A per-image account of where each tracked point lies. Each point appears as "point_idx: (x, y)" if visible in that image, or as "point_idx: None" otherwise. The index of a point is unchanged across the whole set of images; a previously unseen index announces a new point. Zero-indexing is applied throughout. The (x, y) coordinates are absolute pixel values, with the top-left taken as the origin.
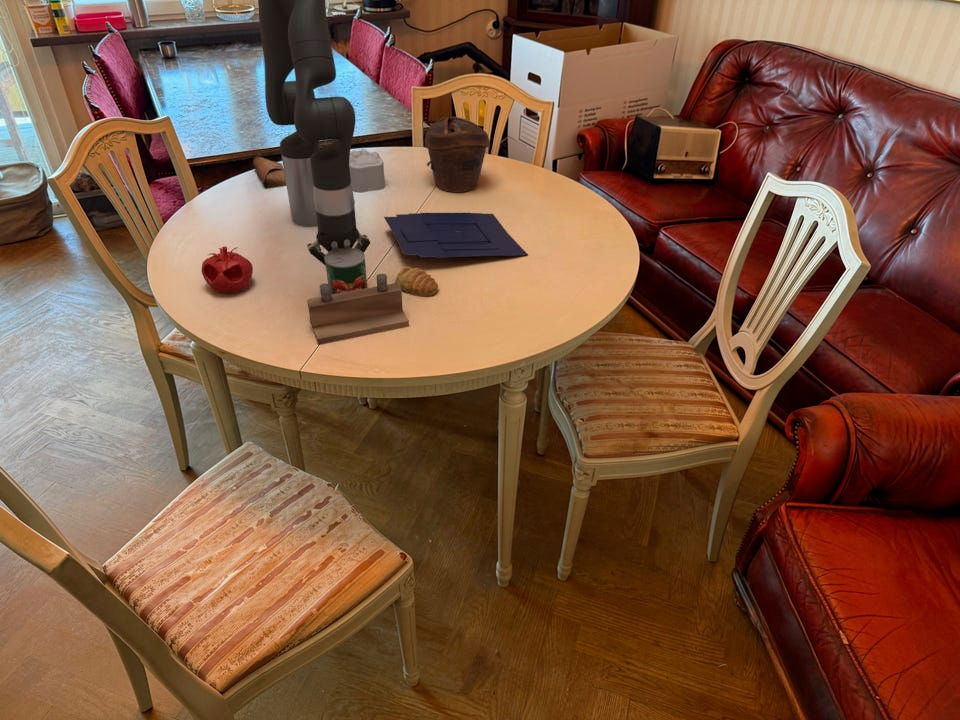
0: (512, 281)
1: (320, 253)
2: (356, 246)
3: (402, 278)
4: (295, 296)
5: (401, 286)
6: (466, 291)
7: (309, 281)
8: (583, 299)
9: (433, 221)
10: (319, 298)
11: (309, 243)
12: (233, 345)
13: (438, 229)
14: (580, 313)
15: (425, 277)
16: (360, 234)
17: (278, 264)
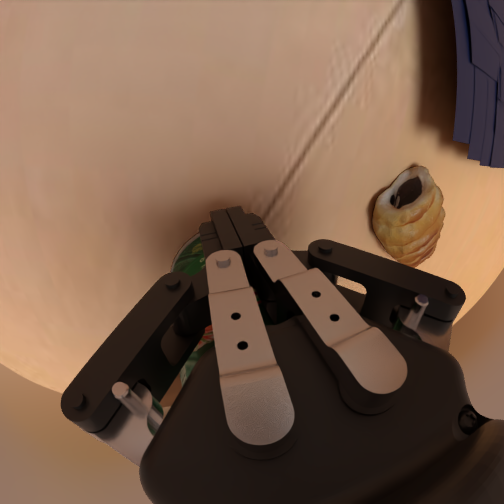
0: (487, 228)
1: (154, 394)
2: (381, 293)
3: (399, 233)
4: (53, 222)
5: (380, 238)
6: (447, 246)
7: (88, 118)
8: (490, 274)
9: (494, 3)
10: (163, 411)
11: (75, 422)
12: (19, 370)
13: (501, 40)
14: (474, 298)
15: (433, 244)
16: (447, 349)
17: (6, 9)
